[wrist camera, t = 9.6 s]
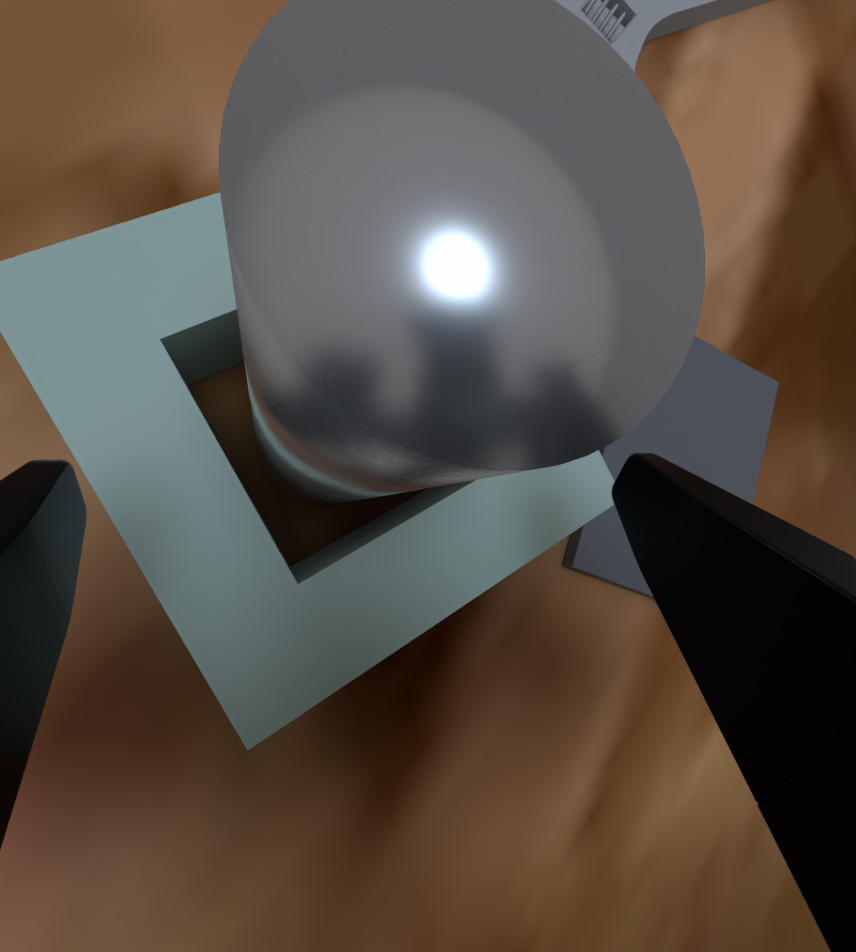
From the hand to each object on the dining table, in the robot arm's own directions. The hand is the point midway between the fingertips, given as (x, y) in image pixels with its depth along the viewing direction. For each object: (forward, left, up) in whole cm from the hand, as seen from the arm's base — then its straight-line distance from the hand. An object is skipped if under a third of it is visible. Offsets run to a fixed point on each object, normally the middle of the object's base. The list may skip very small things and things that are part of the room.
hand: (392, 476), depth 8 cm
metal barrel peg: (+2, -1, -8) cm, 8 cm away
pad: (-5, -12, -8) cm, 15 cm away
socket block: (+2, -1, -8) cm, 8 cm away
